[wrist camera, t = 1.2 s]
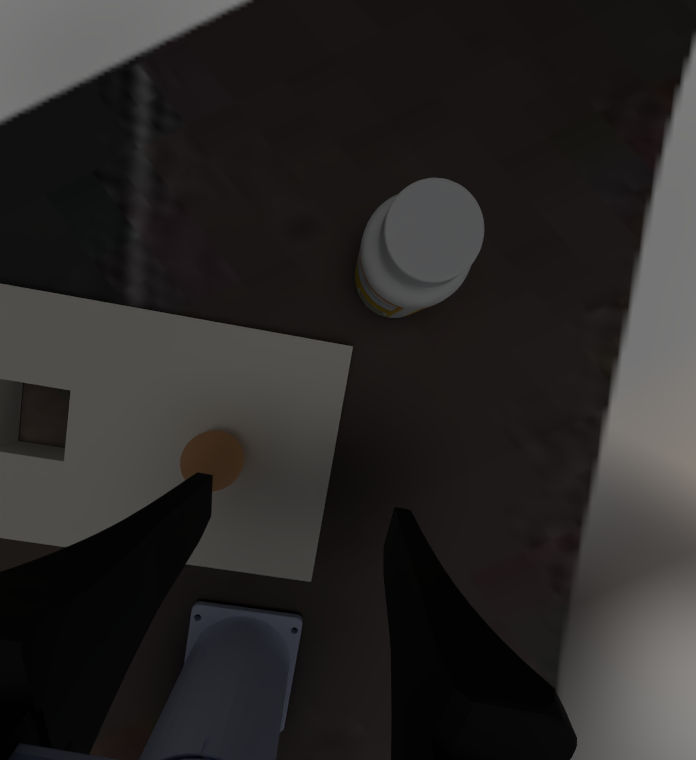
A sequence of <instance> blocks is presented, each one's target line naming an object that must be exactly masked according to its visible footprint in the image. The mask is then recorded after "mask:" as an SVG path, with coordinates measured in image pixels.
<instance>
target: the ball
mask: <svg viewBox="0 0 696 760" xmlns="http://www.w3.org/2000/svg"><path fill="white" fill-rule="evenodd" d="M243 465H244V452H243V449H242V446H241V444H240V443H239V441H238V440H237V439H236V438H235V437H233V436H232V435H230V434H229V433H226V432H223V431H217V430H214V431H207V432H203V433H201V434H199V435H197V436H195V437H194V438H193V439H191V440H190V441H189V442H188V443H187V445H186V446H185V448H184V450H183V452H182V455H181V459H180V469H181V473H182V475H183V477H184V479H185V480H186V479H188V478H189V477H191V476H192V475H194V474H196V473H197V472H199V473H205V474H210V475H213V485H212V492H214V491H219V490H222V489H224V488H226V487H228V486H229V485H231V484H232V483H233V482H234V481H235V480H236V479H237V478H238V476H239V475H240V473H241V471H242V469H243Z"/></svg>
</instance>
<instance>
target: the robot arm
mask: <svg viewBox="0 0 696 760" xmlns="http://www.w3.org/2000/svg"><path fill="white" fill-rule="evenodd" d="M212 485H213V475H210V474H205V473H199V472H197V473H196V474H194V475H192V476H191V477H189V478H188V479H186V480H185V481H183V482H182V483H181V484H179V485H178V486H176V487H175V488H173V489H172V490H170V491H169V492H167V493H166V494H164V495H163V496H161V497H159V498H158V499H156V500H155V501H153V502H152V503H150V504H149V505H147V506H145V507H144V508H142V509H140V510H139V511H137V512H135V513H134V514H132V515H130V516H129V517H127V518H125V519H123V520H122V521H120V522H118V523H116V524H114V525H112V526H111V527H109V528H107V529H105V530H103V531H101V532H99V533H97V534H95V535H93V536H90V537H88V538H86V539H84V540H82V541H79V542H77V543H75V544H72V545H70V546H68V547H66V548H63V549H61V550H59V551H56V552H54V553H51V554H49V555H46V556H44V557H41V558H39V559H36V560H33V561H31V562H28V563H25V564H22V565H19V566H17V567H14V568H11V569H8V570H5V571H2V572H0V760H117V759H111V758H106V757H100V756H94V755H89V753H90V751H91V749H92V747H93V744H94V742H95V740H96V737H97V735H98V733H99V731H100V728H101V726H102V724H103V722H104V719H105V717H106V715H107V713H108V711H109V708H110V706H111V704H112V702H113V700H114V698H115V696H116V693H117V691H118V689H119V687H120V685H121V683H122V681H123V678H124V676H125V674H126V672H127V670H128V668H129V666H130V664H131V662H132V660H133V658H134V656H135V654H136V652H137V650H138V647H139V645H140V643H141V641H142V639H143V637H144V635H145V633H146V631H147V630H148V628H149V626H150V624H151V622H152V620H153V618H154V616H155V614H156V612H157V610H158V608H159V607H160V605H161V603H162V601H163V600H164V598H165V596H166V595H167V593H168V591H169V590H170V588H171V587H172V585H173V583H174V582H175V580H176V579H177V577H178V575H179V574H180V572H181V571H182V569H183V567H184V566H185V564H186V563H187V561H188V559H189V558H190V556H191V555H192V553H193V551H194V550H195V548H196V546H197V545H198V543H199V541H200V539H201V537H202V535H203V533H204V531H205V529H206V527H207V525H208V522H209V520H210V518H211V511H212ZM384 584H385V594H386V604H387V613H388V623H389V633H390V645H391V693H392V738H391V760H570V759H571V758H572V756H573V753H574V752H575V749H576V747H577V737H576V735H575V732H574V730H573V728H572V725H571V723H570V721H569V718H568V716H567V713H566V711H565V709H564V707H563V705H562V703H561V701H560V699H559V697H558V695H557V693H556V691H555V689H554V688H553V687H552V686H551V685H550V684H549V683H548V682H547V681H545V680H544V679H543V678H542V677H541V676H540V675H539V674H537V673H536V672H535V671H534V670H533V669H532V668H531V667H530V666H528V665H527V664H526V663H525V662H524V661H523V660H522V659H521V658H520V657H519V656H518V655H517V654H516V653H515V652H514V651H513V650H512V649H511V648H510V647H508V646H507V645H506V644H505V643H504V642H503V641H502V640H501V638H500V637H499V636H498V635H497V634H496V633H495V632H494V631H493V630H492V629H491V628H490V627H489V626H488V624H487V623H486V622H485V621H484V620H483V619H482V618H481V617H480V616H479V614H478V613H477V612H476V611H475V610H474V609H473V607H472V606H471V605H470V604H469V603H468V601H467V600H466V599H465V597H464V596H463V595H462V594H461V592H460V591H459V590H458V588H457V587H456V586H455V584H454V583H453V581H452V580H451V578H450V577H449V575H448V574H447V572H446V571H445V570H444V568H443V566H442V565H441V563H440V562H439V560H438V559H437V557H436V555H435V554H434V552H433V550H432V549H431V547H430V545H429V543H428V542H427V540H426V538H425V536H424V535H423V533H422V531H421V529H420V527H419V525H418V523H417V521H416V520H415V518H414V516H413V514H412V512H411V511H410V510H408V509H402V508H397V507H395V508H394V511H393V515H392V519H391V522H390V526H389V530H388V533H387V537H386V540H385V544H384ZM196 614H198V615H200V616H201V617H199V616H197V615H196ZM302 624H303V619H302V617H301V616H300V615H297V614H291V613H283V612H276V611H269V610H261V609H254V608H247V607H239V606H232V605H225V604H217V603H210V602H203V601H198V602H196V603H195V604H194V606H193V608H192V611H191V618H190V625H189V632H188V639H187V646H186V654H185V661H184V666H183V668H182V670H181V673H180V675H179V677H178V679H177V681H176V683H175V685H174V687H173V689H172V692H171V694H170V696H169V698H168V700H167V702H166V704H165V706H164V708H163V710H162V713H161V715H160V717H159V719H158V721H157V723H156V725H155V727H154V729H153V731H152V734H151V736H150V738H149V740H148V742H147V744H146V746H145V748H144V750H143V753H142V755H141V757H140V759H139V760H276V755H277V748H278V741H279V734H280V732H281V731H282V730H283V729H284V725H285V720H286V714H287V708H288V703H289V697H290V691H291V686H292V680H293V675H294V669H295V663H296V658H297V652H298V647H299V641H300V635H301V630H302ZM294 627H295V628H297V629H295V630H294V629H292V628H294Z"/></svg>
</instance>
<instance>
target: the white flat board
mask: <svg viewBox="0 0 696 760" xmlns="http://www.w3.org/2000/svg"><path fill="white" fill-rule="evenodd" d="M352 349H353V346H347V345H342V344H336V343H330V342H325V341H319V340H314V339H308V338H302V337H297V336H291V335H286V334H280V333H274V332H269V331H263V330H258V329H252V328H246V327H241V326H235V325H230V324H224V323H218V322H213V321H207V320H202V319H196V318H190V317H185V316H179V315H174V314H168V313H162V312H157V311H151V310H146V309H140V308H134V307H129V306H123V305H118V304H112V303H106V302H101V301H95V300H90V299H84V298H78V297H73V296H67V295H62V294H56V293H50V292H45V291H39V290H34V289H28V288H22V287H17V286H11V285H6V284H0V538H5V539H12V540H19V541H26V542H34V543H41V544H48V545H55V546H62V547H68V546H70V545H72V544H75V543H77V542H79V541H82V540H84V539H86V538H88V537H90V536H93V535H95V534H97V533H99V532H101V531H103V530H105V529H107V528H109V527H111V526H112V525H114V524H116V523H118V522H120V521H122V520H123V519H125V518H127V517H129V516H130V515H132V514H134V513H135V512H137V511H139V510H140V509H142V508H144V507H145V506H147V505H149V504H150V503H152V502H153V501H155V500H156V499H158V498H159V497H161V496H163V495H164V494H166V493H167V492H169V491H170V490H172V489H173V488H175V487H176V486H178V485H179V484H181V483H182V482H183V481H185V479H184V477H183V475H182V473H181V469H180V459H181V455H182V452H183V450H184V448H185V446H186V445H187V443H188V442H189V441H190V440H191V439H193V438H194V437H195V436H197V435H199V434H201V433H203V432H207V431H214V430H217V431H223V432H226V433H229V434H230V435H232V436H233V437H235V438H236V439H237V440H238V441H239V443H240V444H241V446H242V449H243V452H244V465H243V469H242V471H241V473H240V475H239V476H238V478H237V479H236V480H235V481H234V482H233V483H232V484H231V485H229V486H228V487H226V488H224V489H222V490H219V491H214V492H212V511H211V518H210V520H209V522H208V525H207V527H206V529H205V531H204V533H203V535H202V537H201V539H200V541H199V543H198V545H197V546H196V548H195V550H194V551H193V553H192V555H191V556H190V558H189V559H188V561H187V563H186V564H189V565H196V566H203V567H210V568H217V569H224V570H231V571H238V572H245V573H252V574H259V575H266V576H273V577H280V578H287V579H294V580H301V581H309V582H311V579H312V573H313V568H314V562H315V557H316V551H317V545H318V540H319V534H320V528H321V523H322V517H323V512H324V506H325V500H326V495H327V489H328V484H329V478H330V472H331V467H332V461H333V455H334V450H335V444H336V439H337V433H338V427H339V422H340V416H341V411H342V405H343V399H344V394H345V388H346V383H347V377H348V371H349V366H350V360H351V354H352ZM23 383H29V384H35V385H41V386H47V387H54V388H60V389H66V390H71V393H70V404H69V414H68V424H67V435H66V445H65V448H61V447H55V446H49V445H42V444H36V443H29V442H23V441H18V437H19V425H20V413H21V400H22V388H23Z"/></svg>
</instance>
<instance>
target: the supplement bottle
mask: <svg viewBox="0 0 696 760" xmlns="http://www.w3.org/2000/svg"><path fill="white" fill-rule="evenodd" d="M483 237H484V221H483V216H482V212H481V210H480V207H479V205H478V203H477V201H476V200H475V199H474V197H473V196H472V195H471V194H470V192H469V191H467V190H466V189H465V188H464V187H462V186H461V185H460V184H458V183H456V182H453V181H450V180H448V179H442V178H428V179H422V180H419V181H417V182H415V183H412V184H411V185H409V186H408V187H406V188H405V189H403V190H402V191H401V192H400V193H399V194H397V195H395V196H393V197H391V198H390V199H388V200H387V201H385V202H384V203H383V204H382V205H380V206H379V207H378V208H377V210H376V211H375V212H374V213H373V215H372V216H371V218H370V219H369V221H368V223H367V225H366V228H365V231H364V233H363V237H362V240H361V246H360V250H359V255H358V259H357V263H356V268H355V285H356V289H357V292H358V294H359V296H360V298H361V300H362V301H363V303H364V304H365V305H366V306H367V307H368V308H369V309H370V310H372V311H373V312H375V313H377V314H379V315H381V316H384V317H389V318H400V317H405V316H408V315H411V314H413V313H415V312H418V311H420V310H423V309H425V308H428V307H430V306H433V305H435V304H437V303H439V302H441V301H443V300H444V299H446V298H447V297H449V296H450V295H451V294H453V293H454V292H455V291H456V290H457V289H458V288H459V287H460V285H461V284H462V283H463V281H464V280H465V278H466V276H467V274H468V272H469V269H470V267H471V264H472V263H473V262H474V260H475V259H476V257H477V255H478V253H479V251H480V248H481V246H482V242H483Z"/></svg>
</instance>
